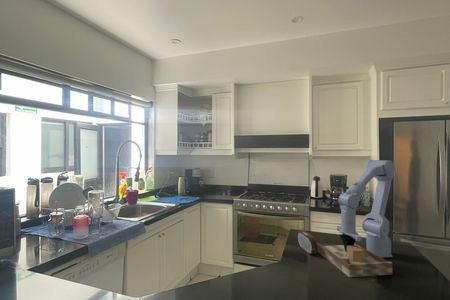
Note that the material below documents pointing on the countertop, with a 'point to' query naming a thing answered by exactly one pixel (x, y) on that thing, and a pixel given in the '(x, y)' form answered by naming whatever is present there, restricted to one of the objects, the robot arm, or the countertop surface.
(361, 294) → the countertop surface
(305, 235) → the tin
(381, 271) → the mottled shallow tray
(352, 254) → the block
